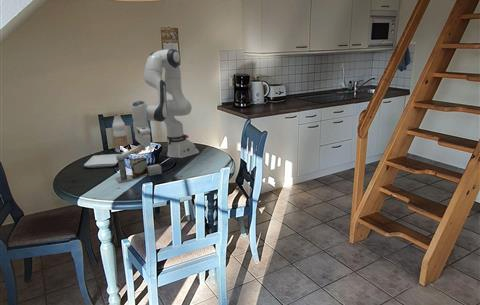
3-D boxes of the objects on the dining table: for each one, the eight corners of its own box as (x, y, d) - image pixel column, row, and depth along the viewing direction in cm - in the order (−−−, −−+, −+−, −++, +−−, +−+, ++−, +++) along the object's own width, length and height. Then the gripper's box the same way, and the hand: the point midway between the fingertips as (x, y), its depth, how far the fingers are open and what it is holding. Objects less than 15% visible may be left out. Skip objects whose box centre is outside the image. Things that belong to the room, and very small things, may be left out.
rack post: (129, 176, 224) (126, 156, 221) (132, 180, 218) (129, 159, 214) (115, 179, 221) (112, 159, 217) (118, 183, 214) (115, 162, 210)
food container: (141, 171, 232) (139, 156, 229) (148, 172, 229) (146, 157, 226) (126, 177, 222) (124, 162, 219) (134, 179, 219) (131, 163, 216)
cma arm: (122, 160, 212) (122, 157, 212) (114, 160, 214) (113, 156, 213) (145, 148, 234) (145, 145, 234) (137, 147, 236) (137, 144, 235)
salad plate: (93, 159, 260) (93, 155, 259) (124, 157, 261) (123, 153, 260) (83, 170, 239) (82, 165, 238) (117, 168, 241) (116, 163, 240)
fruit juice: (115, 153, 270) (110, 115, 262) (115, 149, 279) (109, 113, 270) (129, 151, 273) (124, 114, 265) (128, 148, 282) (123, 112, 273)
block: (159, 171, 231) (158, 163, 229) (161, 173, 227) (160, 165, 225) (146, 174, 227) (145, 166, 226) (148, 176, 223) (147, 168, 222)
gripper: (131, 126, 232) (133, 147, 236) (140, 132, 216) (143, 155, 220) (141, 124, 235) (143, 145, 240) (151, 130, 219) (153, 153, 223)
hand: (143, 150), depth 229 cm, fingers closed
